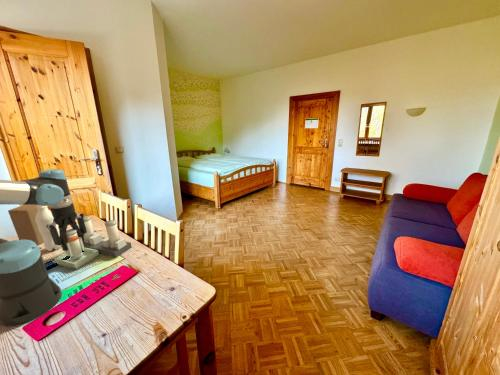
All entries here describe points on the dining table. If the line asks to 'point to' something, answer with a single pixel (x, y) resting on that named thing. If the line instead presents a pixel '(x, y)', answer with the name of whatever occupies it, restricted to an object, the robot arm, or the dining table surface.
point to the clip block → (107, 245)
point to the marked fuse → (74, 243)
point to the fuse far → (88, 229)
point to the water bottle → (42, 220)
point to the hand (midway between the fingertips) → (75, 252)
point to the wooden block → (26, 223)
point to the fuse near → (112, 232)
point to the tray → (77, 263)
